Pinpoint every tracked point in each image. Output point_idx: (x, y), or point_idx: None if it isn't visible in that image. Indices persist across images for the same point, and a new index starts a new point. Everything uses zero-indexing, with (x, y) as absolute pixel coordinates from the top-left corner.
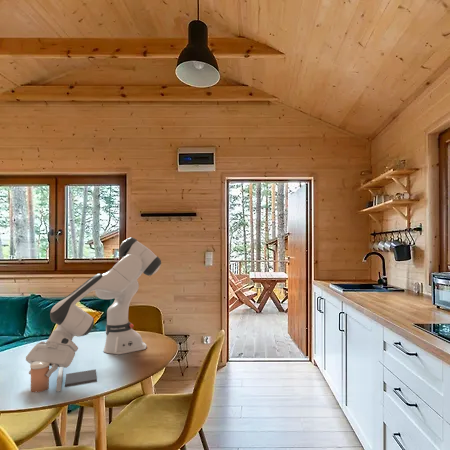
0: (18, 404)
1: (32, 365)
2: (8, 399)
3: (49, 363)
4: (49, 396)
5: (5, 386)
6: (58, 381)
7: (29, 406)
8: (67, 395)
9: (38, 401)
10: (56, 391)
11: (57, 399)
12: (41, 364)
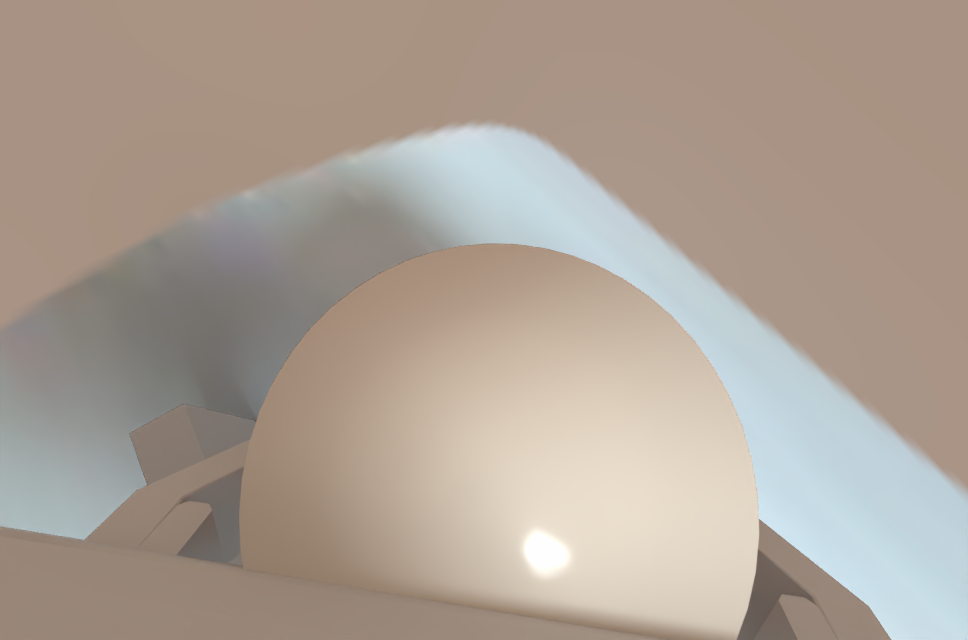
0: (463, 179)
1: (572, 274)
2: (623, 240)
3: (260, 553)
4: (282, 331)
5: (961, 500)
6: (165, 417)
7: (350, 163)
8: (109, 370)
9: (328, 237)
10: (252, 420)
11: (174, 286)
12: (381, 358)
